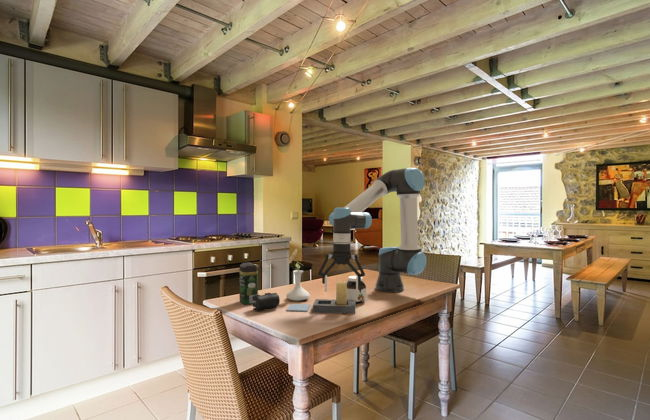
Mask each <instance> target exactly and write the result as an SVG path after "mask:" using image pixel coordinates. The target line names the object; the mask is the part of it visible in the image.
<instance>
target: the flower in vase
mask: <svg viewBox="0 0 650 420" xmlns="http://www.w3.org/2000/svg"><path fill="white" fill-rule="evenodd" d="M297 253H298V248H295V249H294V251H292V254H291V256H290V257H289V259H288V264H291V263H292V262H293V261H294V259H295V260H296V264H295V265H294V266H295V267H296V270H293V271H292V272H293V274H294V278H295V285H294V287H293V288H292V289H290V291H288V292H287V294H286V296H285V297H286V298H287V299H288V300H290V301H296V302H297V301H299V302H300V301H304V300H307V299H309V298H310V297H311V296H310V293H309V292H308V291H307V290H306V289H304V288H303V287H302V285H301V277H302V274H303V273H304V270H300V268H301V265H300V264H299V261H298V259H297V257H296V256H297Z"/></svg>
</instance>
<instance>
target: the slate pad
mask: <svg viewBox="0 0 650 420" xmlns="http://www.w3.org/2000/svg"><path fill="white" fill-rule="evenodd" d="M310 307H311V304H307V303H305V304H302V303H301V304H300V303H299V304H298V303H290V304H289V306H287V308H286V312H303V313H304V312H307V313H308V312H309V309H310Z"/></svg>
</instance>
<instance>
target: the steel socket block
mask: <svg viewBox="0 0 650 420" xmlns="http://www.w3.org/2000/svg"><path fill="white" fill-rule="evenodd" d="M356 307H357V306H356V300H347V305H336V299H328V298H327V299H324V298H321V299H320V298H316V299H314V302H313V303H312V313H323V314H325V313H326V314H349V315H350V314H352V315H353V314H354V315H355V314H356V309H357V308H356Z"/></svg>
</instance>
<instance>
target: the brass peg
mask: <svg viewBox="0 0 650 420" xmlns="http://www.w3.org/2000/svg"><path fill="white" fill-rule="evenodd" d="M347 282H348V280H347V281H345V280H343V281H341V280H338V281H337V280H336V283H335V284H336V285H335V287H336V288H335V289H336V291H335V292H336V293H335V294H336V295H335V296H336V299H335V300H336V305H347Z"/></svg>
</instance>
